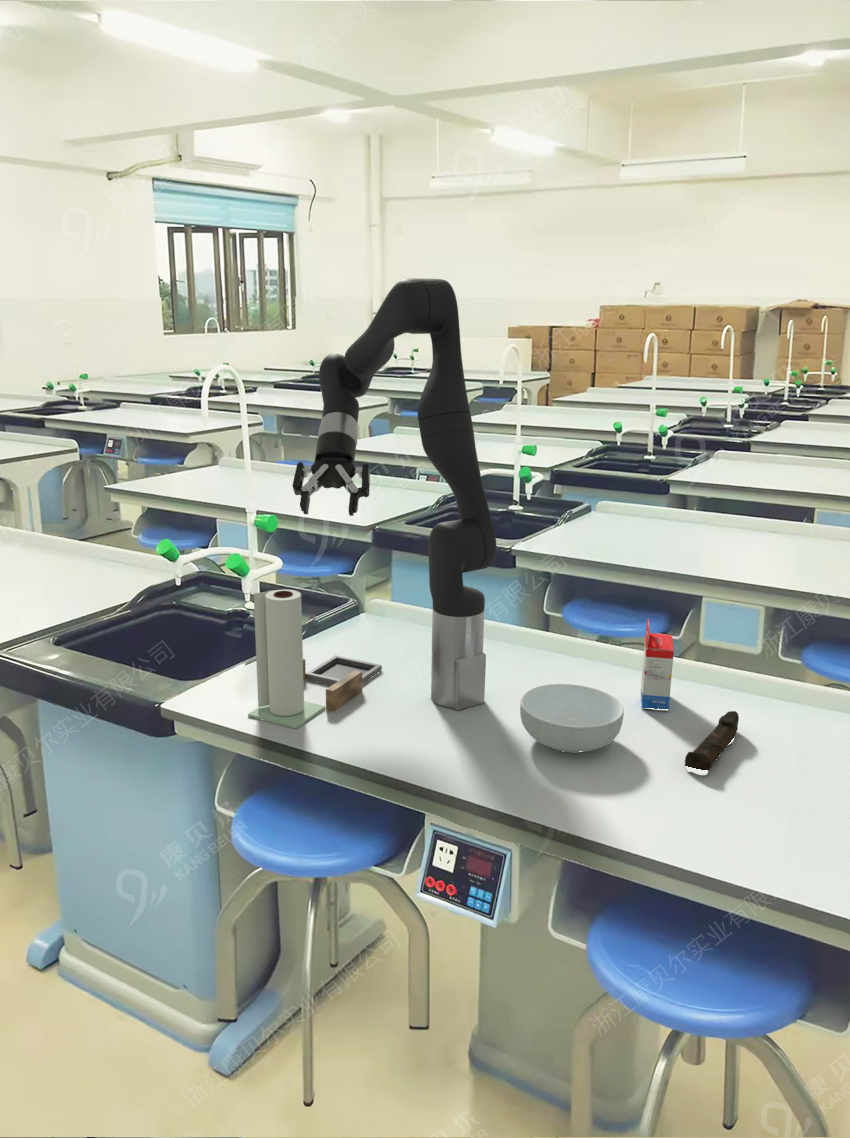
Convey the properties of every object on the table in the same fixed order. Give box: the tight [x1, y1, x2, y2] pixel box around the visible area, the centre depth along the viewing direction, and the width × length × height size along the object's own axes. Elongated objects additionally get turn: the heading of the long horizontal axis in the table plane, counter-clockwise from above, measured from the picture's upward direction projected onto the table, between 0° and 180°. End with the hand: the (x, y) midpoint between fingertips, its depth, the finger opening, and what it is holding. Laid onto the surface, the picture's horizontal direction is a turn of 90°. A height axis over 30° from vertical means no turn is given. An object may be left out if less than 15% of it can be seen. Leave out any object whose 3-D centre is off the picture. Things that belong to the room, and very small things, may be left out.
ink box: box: [640, 618, 675, 710], centre depth 166 cm, size 8×5×15 cm, turn 168°
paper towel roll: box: [253, 588, 305, 716], centre depth 159 cm, size 7×6×21 cm
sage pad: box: [247, 700, 326, 729], centre depth 162 cm, size 9×10×1 cm
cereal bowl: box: [519, 683, 625, 753], centre depth 152 cm, size 17×17×7 cm
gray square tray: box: [305, 655, 383, 686], centre depth 178 cm, size 11×11×1 cm
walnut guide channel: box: [303, 658, 363, 713], centre depth 169 cm, size 10×14×4 cm
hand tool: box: [684, 710, 740, 772], centre depth 149 cm, size 19×4×5 cm, turn 142°
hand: (328, 512), depth 171 cm, fingers open, 8 cm apart
